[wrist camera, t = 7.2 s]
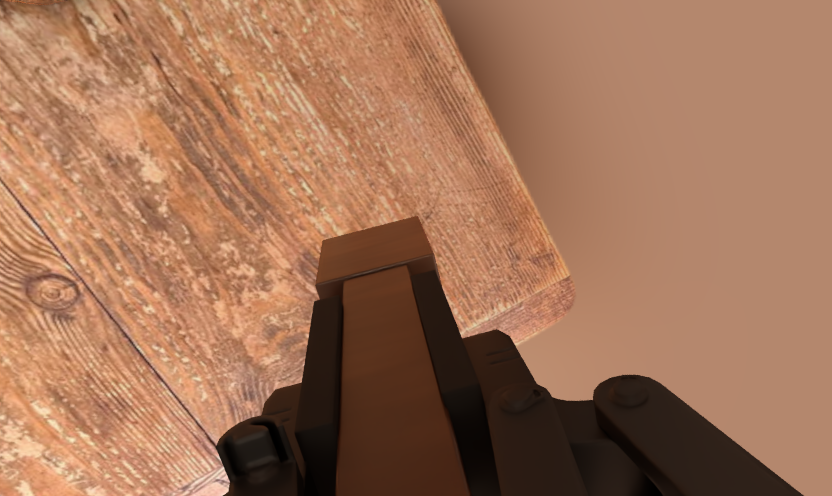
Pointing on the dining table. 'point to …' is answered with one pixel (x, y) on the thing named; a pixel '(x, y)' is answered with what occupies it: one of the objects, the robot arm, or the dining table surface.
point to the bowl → (36, 1)
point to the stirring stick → (388, 368)
